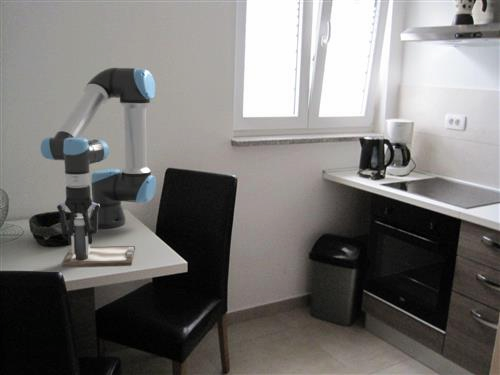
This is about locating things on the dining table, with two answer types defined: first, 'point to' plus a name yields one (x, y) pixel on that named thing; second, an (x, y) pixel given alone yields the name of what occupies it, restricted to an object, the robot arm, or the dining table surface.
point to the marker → (80, 238)
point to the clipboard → (103, 256)
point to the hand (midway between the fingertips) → (81, 253)
